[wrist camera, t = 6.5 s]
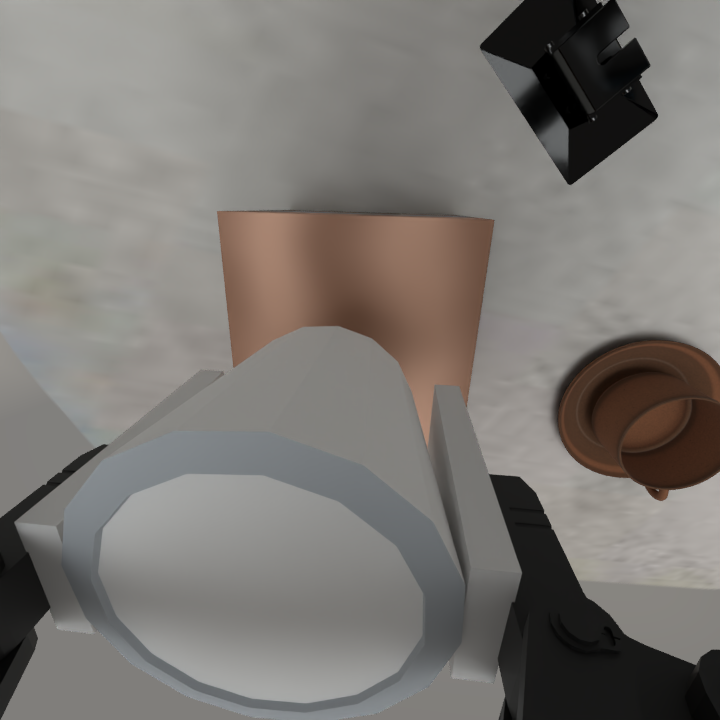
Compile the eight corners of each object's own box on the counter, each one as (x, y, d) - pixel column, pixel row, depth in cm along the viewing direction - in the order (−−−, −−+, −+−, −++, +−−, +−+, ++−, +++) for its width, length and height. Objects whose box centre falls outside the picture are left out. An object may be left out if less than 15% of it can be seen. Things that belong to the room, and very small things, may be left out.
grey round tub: (409, 503, 14) (419, 760, 7) (226, 469, 14) (82, 691, 8) (454, 325, 11) (528, 484, 5) (229, 287, 12) (12, 391, 5)
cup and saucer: (728, 427, 31) (802, 476, 25) (581, 483, 34) (618, 537, 29) (683, 303, 28) (756, 328, 22) (526, 378, 31) (555, 416, 26)
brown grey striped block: (455, 215, 27) (494, 219, 16) (437, 370, 31) (458, 458, 20) (289, 210, 28) (217, 211, 17) (295, 361, 32) (241, 441, 21)
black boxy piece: (672, 128, 25) (735, 112, 20) (562, 213, 27) (596, 215, 22) (565, -72, 22) (610, -146, 17) (451, 43, 24) (464, 5, 19)
